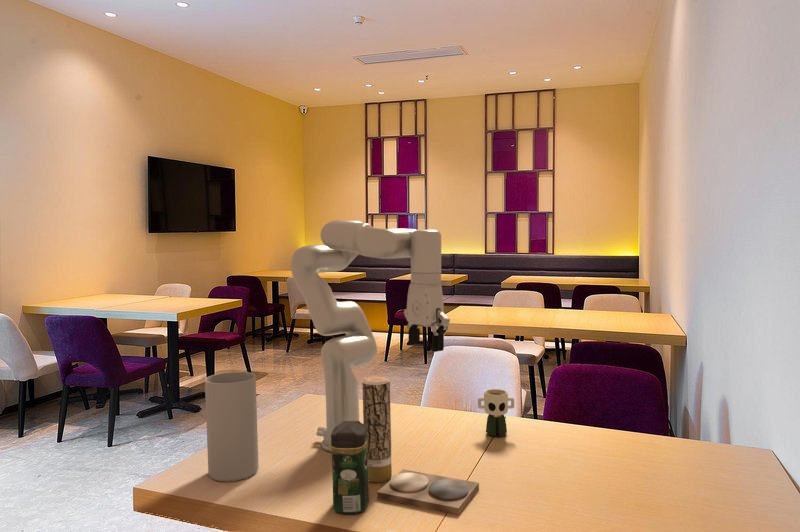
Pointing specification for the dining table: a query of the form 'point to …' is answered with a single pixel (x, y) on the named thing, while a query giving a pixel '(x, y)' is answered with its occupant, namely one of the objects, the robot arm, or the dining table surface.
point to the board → (429, 491)
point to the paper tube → (377, 427)
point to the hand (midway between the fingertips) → (425, 347)
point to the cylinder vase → (231, 425)
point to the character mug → (496, 410)
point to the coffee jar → (349, 467)
